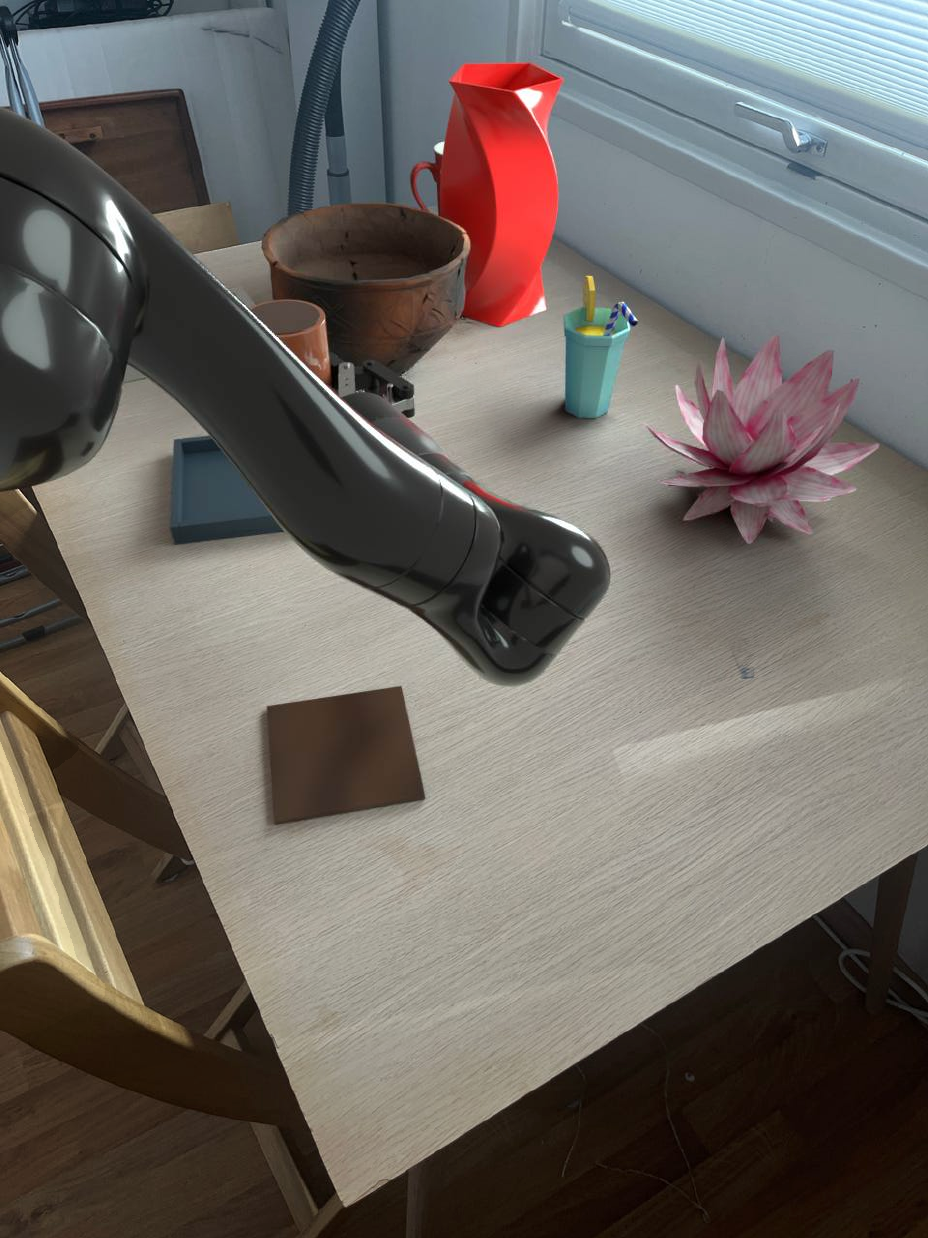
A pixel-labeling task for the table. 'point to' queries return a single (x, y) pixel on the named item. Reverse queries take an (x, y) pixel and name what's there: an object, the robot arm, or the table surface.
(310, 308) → the tumbler
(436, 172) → the mug
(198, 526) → the tray
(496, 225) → the vase
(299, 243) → the bowl
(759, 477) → the decorative flower
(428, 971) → the table surface
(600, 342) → the cup
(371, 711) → the coaster
